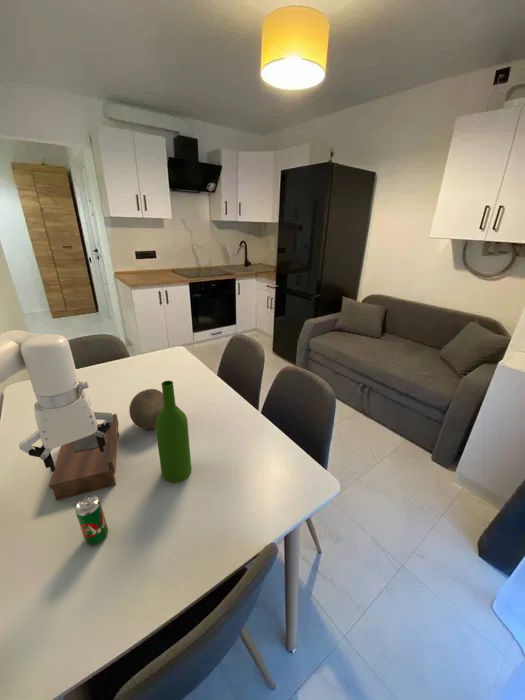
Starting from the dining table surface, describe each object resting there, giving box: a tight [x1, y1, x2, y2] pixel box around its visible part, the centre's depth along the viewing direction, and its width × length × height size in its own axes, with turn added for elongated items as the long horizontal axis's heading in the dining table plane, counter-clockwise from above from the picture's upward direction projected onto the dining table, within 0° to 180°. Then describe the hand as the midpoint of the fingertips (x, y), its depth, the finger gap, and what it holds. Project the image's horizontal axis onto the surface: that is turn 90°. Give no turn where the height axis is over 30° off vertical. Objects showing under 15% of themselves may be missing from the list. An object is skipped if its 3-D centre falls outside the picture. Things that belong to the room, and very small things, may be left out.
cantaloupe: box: [128, 388, 164, 430], centre depth 108 cm, size 14×14×15 cm
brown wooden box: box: [48, 413, 120, 501], centre depth 92 cm, size 16×24×9 cm, turn 22°
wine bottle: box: [154, 380, 192, 484], centre depth 85 cm, size 9×9×32 cm
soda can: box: [75, 494, 109, 546], centre depth 70 cm, size 5×5×12 cm
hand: (78, 457), depth 66 cm, fingers open, 9 cm apart
